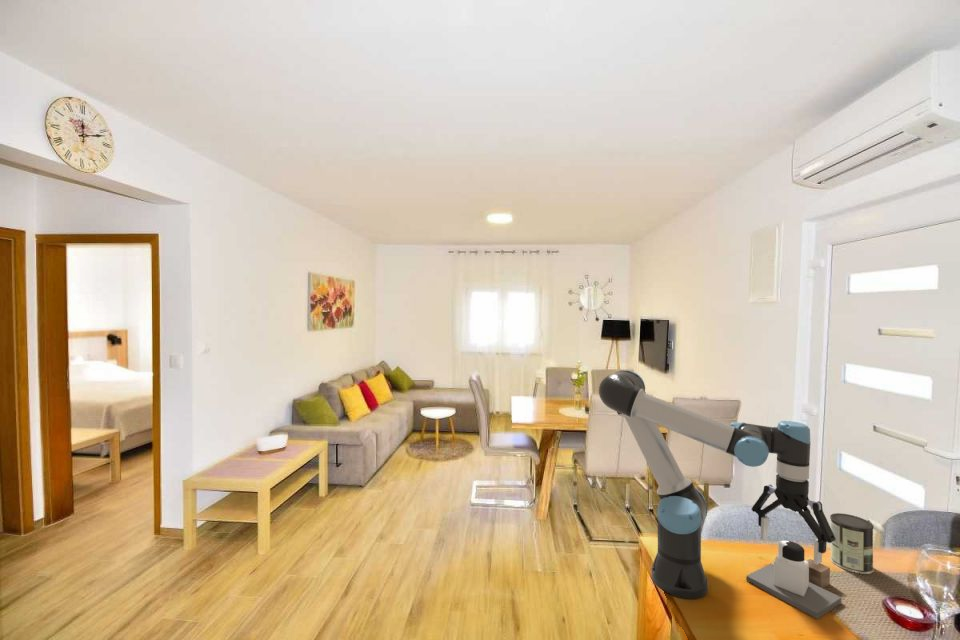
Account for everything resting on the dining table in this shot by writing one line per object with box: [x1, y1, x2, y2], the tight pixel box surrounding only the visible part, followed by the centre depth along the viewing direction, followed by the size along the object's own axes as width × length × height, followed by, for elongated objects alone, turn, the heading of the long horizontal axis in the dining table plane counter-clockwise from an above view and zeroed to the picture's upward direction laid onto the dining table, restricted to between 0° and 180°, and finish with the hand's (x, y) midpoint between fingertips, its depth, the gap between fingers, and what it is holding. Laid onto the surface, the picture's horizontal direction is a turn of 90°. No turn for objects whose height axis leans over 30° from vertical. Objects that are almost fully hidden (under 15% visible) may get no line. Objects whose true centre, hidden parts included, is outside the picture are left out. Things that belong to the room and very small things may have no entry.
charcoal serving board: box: [745, 563, 842, 620], centre depth 120 cm, size 18×13×2 cm
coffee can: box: [829, 512, 875, 575], centre depth 133 cm, size 10×10×14 cm
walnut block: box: [806, 558, 831, 589], centre depth 124 cm, size 5×5×5 cm
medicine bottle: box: [773, 540, 809, 597], centre depth 120 cm, size 7×7×12 cm
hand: (789, 550), depth 120 cm, fingers open, 13 cm apart
